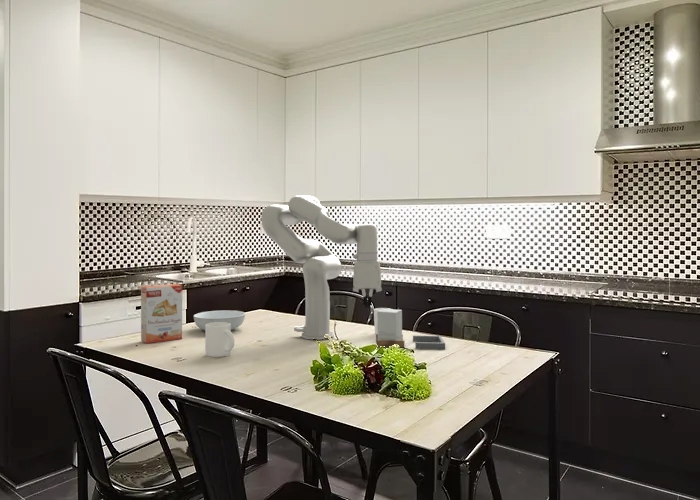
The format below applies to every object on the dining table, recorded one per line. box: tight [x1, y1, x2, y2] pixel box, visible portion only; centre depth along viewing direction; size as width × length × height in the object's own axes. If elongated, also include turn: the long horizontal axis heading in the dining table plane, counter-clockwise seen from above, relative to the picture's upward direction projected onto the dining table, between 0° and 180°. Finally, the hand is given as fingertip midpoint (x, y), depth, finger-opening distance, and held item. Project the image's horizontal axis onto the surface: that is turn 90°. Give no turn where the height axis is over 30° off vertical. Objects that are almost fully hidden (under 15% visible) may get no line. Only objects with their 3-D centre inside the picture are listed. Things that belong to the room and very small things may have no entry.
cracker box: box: [140, 283, 183, 344], centre depth 203 cm, size 14×6×21 cm, turn 131°
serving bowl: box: [193, 309, 246, 331], centre depth 224 cm, size 21×21×7 cm
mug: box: [204, 322, 236, 358], centre depth 180 cm, size 12×8×10 cm
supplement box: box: [377, 308, 403, 340], centre depth 199 cm, size 7×7×13 cm
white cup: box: [373, 307, 391, 335], centre depth 218 cm, size 8×8×10 cm
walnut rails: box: [375, 333, 405, 348], centre depth 199 cm, size 10×12×2 cm
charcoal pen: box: [412, 335, 446, 350], centre depth 198 cm, size 10×13×2 cm
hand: (367, 307), depth 198 cm, fingers closed
